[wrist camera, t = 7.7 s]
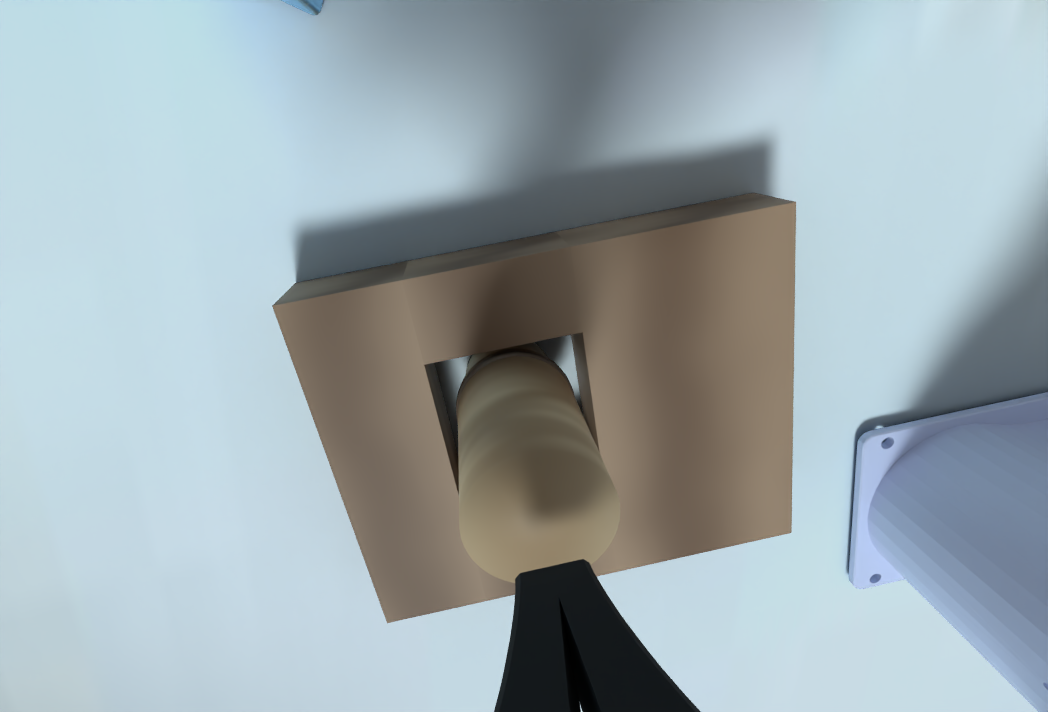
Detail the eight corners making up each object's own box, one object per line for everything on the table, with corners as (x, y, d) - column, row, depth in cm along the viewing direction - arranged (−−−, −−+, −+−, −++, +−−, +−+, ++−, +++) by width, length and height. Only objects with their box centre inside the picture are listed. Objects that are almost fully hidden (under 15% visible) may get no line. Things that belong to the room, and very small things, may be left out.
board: (753, 192, 19) (795, 201, 16) (757, 492, 23) (791, 532, 21) (295, 283, 18) (271, 306, 16) (394, 572, 23) (387, 623, 20)
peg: (559, 321, 19) (624, 440, 12) (561, 417, 21) (620, 576, 13) (451, 330, 19) (449, 457, 12) (460, 426, 20) (464, 595, 13)
